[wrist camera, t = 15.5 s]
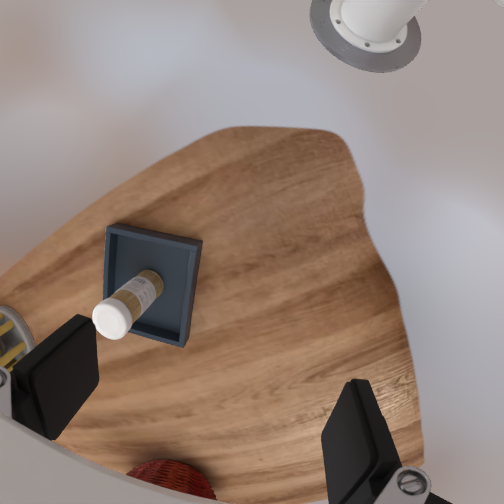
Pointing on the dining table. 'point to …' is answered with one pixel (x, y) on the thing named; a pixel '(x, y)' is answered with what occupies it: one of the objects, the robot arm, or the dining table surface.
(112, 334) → the sprinkles bottle
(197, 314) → the dining table surface
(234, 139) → the dining table surface
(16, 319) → the lantern
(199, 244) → the tray
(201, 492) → the vase
